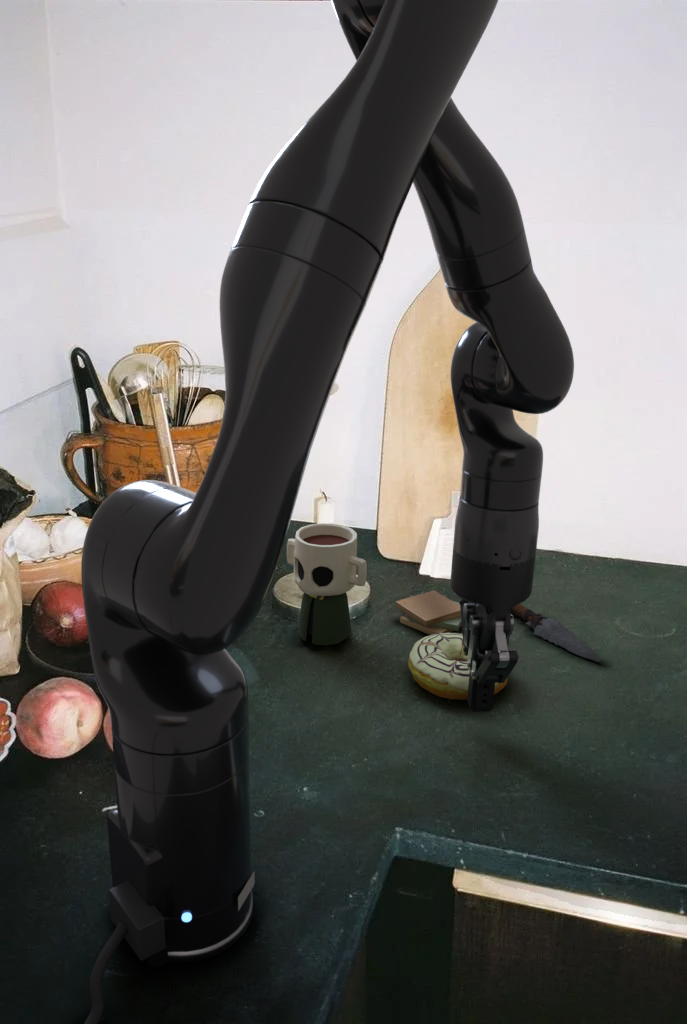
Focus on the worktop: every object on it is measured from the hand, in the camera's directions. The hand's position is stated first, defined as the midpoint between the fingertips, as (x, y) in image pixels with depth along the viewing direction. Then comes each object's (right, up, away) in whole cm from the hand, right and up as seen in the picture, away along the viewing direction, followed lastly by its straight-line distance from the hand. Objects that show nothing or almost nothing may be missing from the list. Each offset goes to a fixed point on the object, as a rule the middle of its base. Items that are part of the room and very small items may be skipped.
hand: (479, 707), depth 92 cm
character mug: (-16, +4, +18) cm, 24 cm away
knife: (+11, +5, +20) cm, 24 cm away
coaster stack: (-2, +6, +22) cm, 23 cm away
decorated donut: (-1, +1, +10) cm, 10 cm away
